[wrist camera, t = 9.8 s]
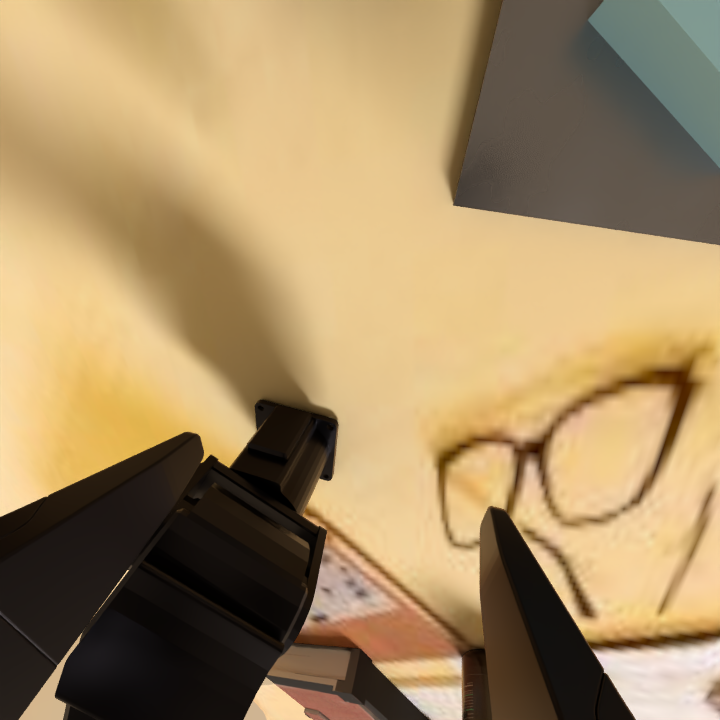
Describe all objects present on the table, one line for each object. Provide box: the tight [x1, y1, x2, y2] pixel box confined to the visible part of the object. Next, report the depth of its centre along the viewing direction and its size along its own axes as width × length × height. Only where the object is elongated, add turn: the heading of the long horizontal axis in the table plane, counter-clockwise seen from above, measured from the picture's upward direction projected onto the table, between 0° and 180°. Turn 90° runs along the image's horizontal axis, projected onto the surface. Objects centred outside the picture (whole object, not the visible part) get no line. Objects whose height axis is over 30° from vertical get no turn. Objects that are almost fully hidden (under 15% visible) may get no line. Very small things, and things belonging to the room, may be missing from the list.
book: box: [266, 643, 428, 720], centre depth 50 cm, size 26×18×5 cm
